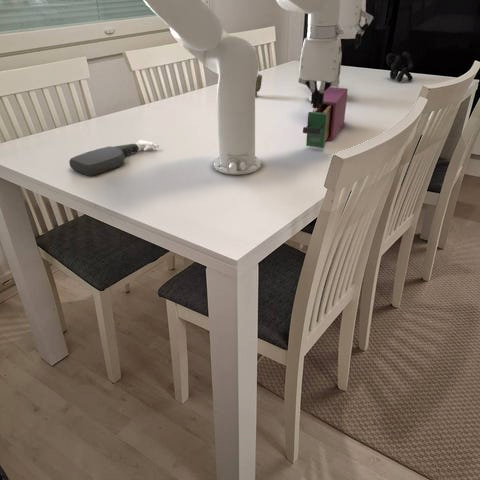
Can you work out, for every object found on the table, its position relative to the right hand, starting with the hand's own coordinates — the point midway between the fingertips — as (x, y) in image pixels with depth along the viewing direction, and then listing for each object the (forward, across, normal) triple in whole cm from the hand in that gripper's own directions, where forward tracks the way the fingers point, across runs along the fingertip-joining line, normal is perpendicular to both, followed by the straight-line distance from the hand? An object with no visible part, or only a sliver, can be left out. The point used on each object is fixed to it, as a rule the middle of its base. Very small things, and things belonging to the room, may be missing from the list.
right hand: (340, 47), depth 135 cm
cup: (+24, +38, -26) cm, 52 cm away
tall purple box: (+24, 0, +6) cm, 25 cm away
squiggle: (+24, -15, -74) cm, 79 cm away
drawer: (+23, 0, +18) cm, 30 cm away
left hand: (+11, 0, +26) cm, 28 cm away
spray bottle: (+24, +50, +50) cm, 75 cm away
